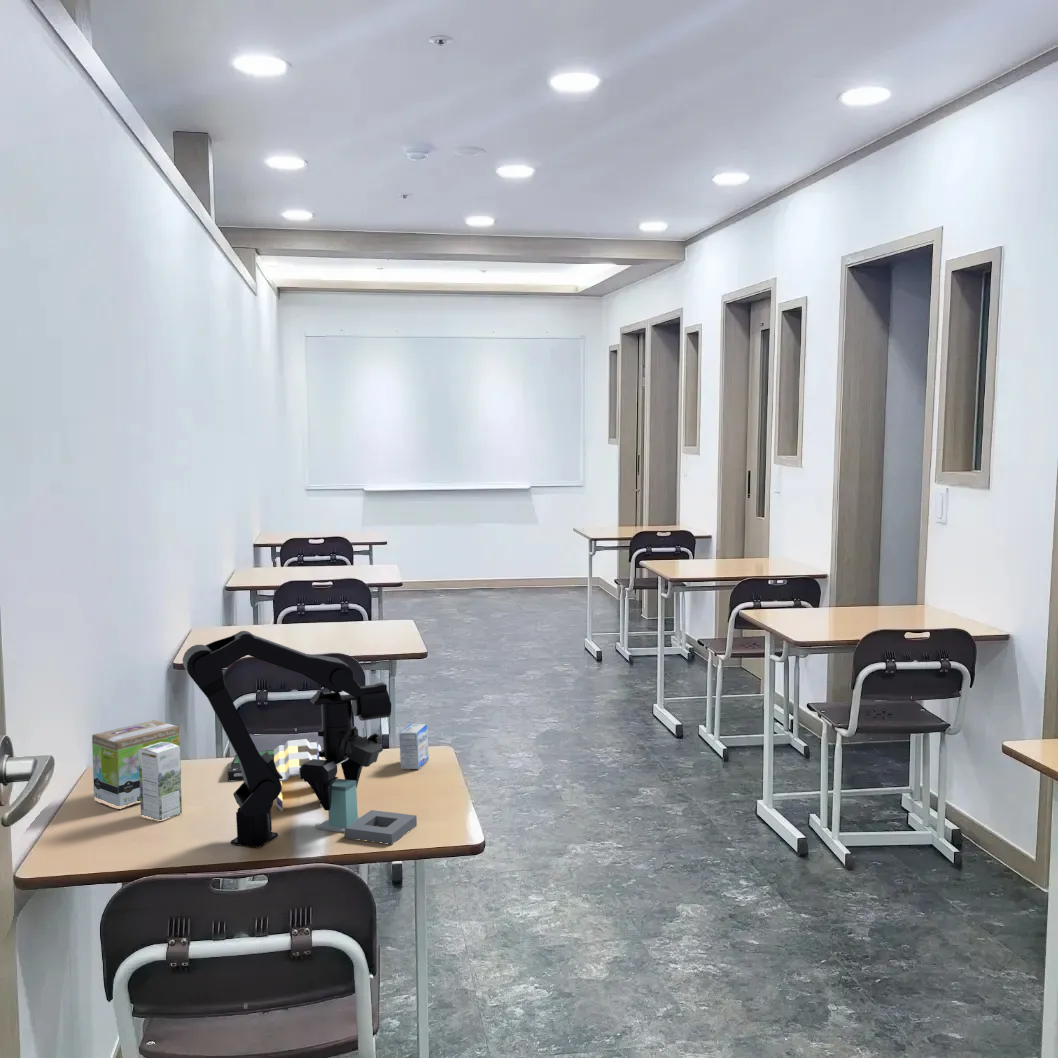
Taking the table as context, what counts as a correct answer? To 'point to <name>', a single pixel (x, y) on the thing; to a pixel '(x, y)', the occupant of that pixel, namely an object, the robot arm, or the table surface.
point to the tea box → (125, 759)
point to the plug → (343, 803)
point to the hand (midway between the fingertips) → (340, 802)
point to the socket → (392, 821)
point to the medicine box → (413, 746)
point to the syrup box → (160, 780)
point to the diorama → (293, 760)
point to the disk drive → (235, 769)
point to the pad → (330, 827)
